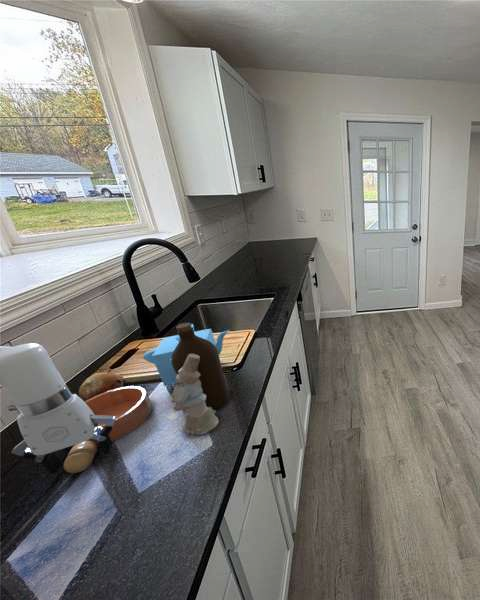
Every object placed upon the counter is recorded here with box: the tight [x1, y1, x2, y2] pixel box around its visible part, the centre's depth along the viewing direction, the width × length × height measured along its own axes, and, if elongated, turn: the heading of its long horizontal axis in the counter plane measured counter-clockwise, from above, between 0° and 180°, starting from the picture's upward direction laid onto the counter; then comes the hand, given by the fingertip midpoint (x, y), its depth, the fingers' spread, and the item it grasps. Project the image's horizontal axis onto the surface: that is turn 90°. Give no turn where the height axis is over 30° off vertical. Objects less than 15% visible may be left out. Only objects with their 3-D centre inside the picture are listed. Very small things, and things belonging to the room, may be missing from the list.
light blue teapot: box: [142, 323, 231, 387], centre depth 101 cm, size 19×19×15 cm
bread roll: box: [78, 372, 126, 402], centre depth 97 cm, size 10×10×8 cm
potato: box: [63, 441, 98, 474], centre depth 72 cm, size 8×5×5 cm, turn 28°
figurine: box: [170, 354, 220, 436], centre depth 78 cm, size 9×8×20 cm
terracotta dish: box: [70, 385, 153, 448], centre depth 84 cm, size 18×18×5 cm
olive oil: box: [171, 322, 231, 411], centre depth 85 cm, size 11×11×25 cm
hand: (83, 459), depth 72 cm, fingers open, 8 cm apart
